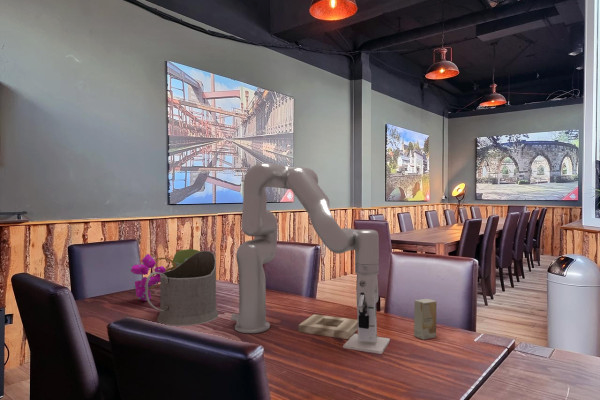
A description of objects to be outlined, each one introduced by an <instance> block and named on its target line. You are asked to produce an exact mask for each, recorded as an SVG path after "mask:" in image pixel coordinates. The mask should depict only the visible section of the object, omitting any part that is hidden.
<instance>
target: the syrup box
mask: <svg viewBox="0 0 600 400" xmlns="http://www.w3.org/2000/svg"><path fill="white" fill-rule="evenodd" d="M358 303H359V302H358ZM364 305H367V304H364ZM358 309H359V308H358V305H357V304H356V310H357V312H356V313H357V316H356V317H357V319H356V320H358V329H357V334H358V341H363V342H376V340H377V337H378V331H377V330H378V329H377V328H378V326H377V322H378V321H377V303H376V302H375V296H374V306H372V307H370V306H369V310H368V316H369V328H368V329H365V328H359V315H358V313H359V310H358ZM364 309H365V311H366V308H364Z"/></svg>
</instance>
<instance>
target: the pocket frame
mask: <svg viewBox="0 0 600 400" xmlns="http://www.w3.org/2000/svg"><path fill="white" fill-rule="evenodd" d="M357 331H358V319H356V318H354V319H353V318H347V317H339V316H338V317H337V316H333V315H332V316H330V315H322V314H315V313H314V314H312V315H311V316H309V317H307V319H305V320H303V321H302V322H301V323H299V324H298V333H303V334H304V333H305V334H311V335H319V336H324V337H331V338H337V339H342V340H349V339H350V338H351V337H352V336H353V335H354V334H356V332H357Z"/></svg>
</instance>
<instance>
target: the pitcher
mask: <svg viewBox="0 0 600 400" xmlns="http://www.w3.org/2000/svg"><path fill="white" fill-rule="evenodd" d="M216 261H217V260H216V256H215V253H213V252H212V251H210V250H202V251H201V252H197V253H196V254H194V255H193V256H191V257H190V258H188V259H187V260H186V261H185V262H183V263H182V264H181V265H179V266H178V267H176V268H175V269H173V270H169V271H167V272H164V273H158V272H155V271H153V272H151V273H150V274H149V275H148V276H147V280H146V284H145V294H146V299H147V301H146V302H147V303H148V304H149V306H151V307H152V308H153V309H155V310H158V311H159V314H158V316H157V322H158V323H160V324H161V323H162V325H165V324H167V325H166V326H171V325H172V326H173V327H186V326H187V327H189V326H196V325H201V324H205V323H206V324H207V323H209V322H211V321H214V320H216V319H217V318H218V317H219V315H220V314H219V311H218V310H217V271H216V270H217V262H216ZM157 274H161V275H160V282H159V284H160V285H159V286H160V287H159V289H160V290H159V291H160V299H159V301H160V302H159V303H160V306H159V307H160V308H159V307H156V306H155V305H154V304H153V303H152V302H151V299H150V300H149V297H148V290H149V289H148V281H149V279H150V277H153V275H157Z"/></svg>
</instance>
